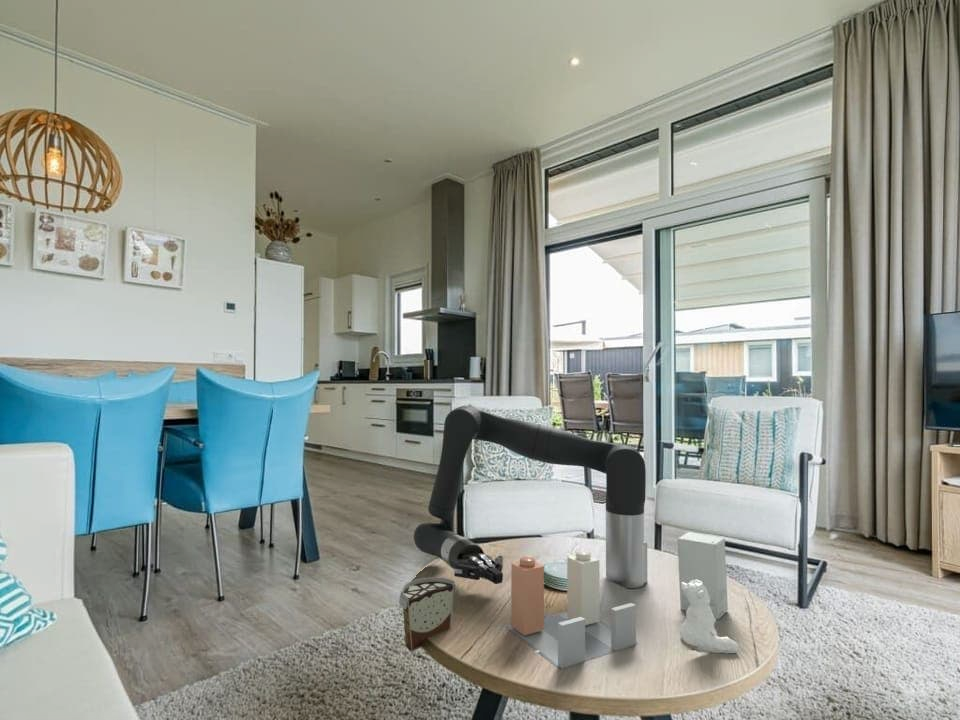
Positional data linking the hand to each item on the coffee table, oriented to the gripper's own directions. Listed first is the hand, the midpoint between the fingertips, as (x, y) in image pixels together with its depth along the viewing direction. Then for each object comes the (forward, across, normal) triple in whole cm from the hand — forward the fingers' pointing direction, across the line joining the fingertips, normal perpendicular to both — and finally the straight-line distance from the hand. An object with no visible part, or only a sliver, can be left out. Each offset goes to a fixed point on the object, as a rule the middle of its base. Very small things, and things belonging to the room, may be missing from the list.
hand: (499, 578), depth 110 cm
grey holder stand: (+16, +6, +8) cm, 19 cm away
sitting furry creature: (+29, +27, +8) cm, 40 cm away
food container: (+1, -18, +8) cm, 20 cm away
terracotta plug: (+10, 0, +6) cm, 12 cm away
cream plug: (+13, +12, +6) cm, 19 cm away
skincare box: (+19, +40, +8) cm, 45 cm away
